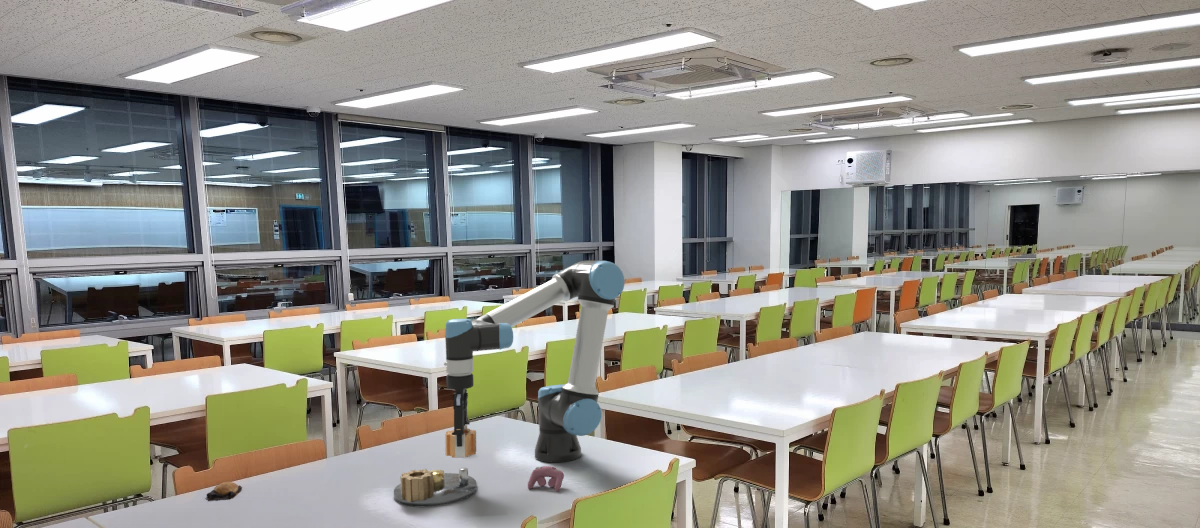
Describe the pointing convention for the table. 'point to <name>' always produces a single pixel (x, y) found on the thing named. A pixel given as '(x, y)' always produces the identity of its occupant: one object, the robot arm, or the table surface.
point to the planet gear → (469, 443)
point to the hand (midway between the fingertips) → (461, 452)
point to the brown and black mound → (224, 491)
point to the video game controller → (544, 472)
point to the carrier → (434, 487)
